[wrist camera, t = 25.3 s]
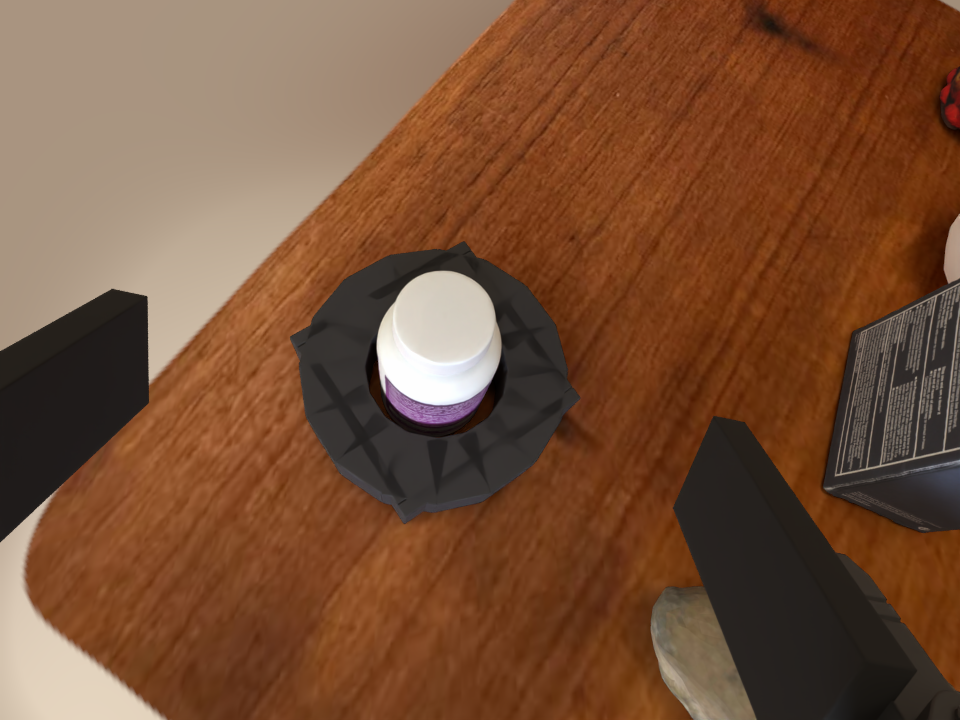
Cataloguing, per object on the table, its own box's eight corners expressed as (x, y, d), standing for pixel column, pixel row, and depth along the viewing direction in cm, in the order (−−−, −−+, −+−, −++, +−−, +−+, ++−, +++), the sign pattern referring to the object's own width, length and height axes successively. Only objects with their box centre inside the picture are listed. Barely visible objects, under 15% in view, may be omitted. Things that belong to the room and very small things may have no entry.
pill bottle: (499, 411, 33) (540, 348, 24) (408, 456, 31) (414, 408, 22) (452, 325, 34) (474, 234, 25) (363, 365, 32) (351, 284, 23)
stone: (589, 715, 28) (659, 765, 21) (649, 535, 31) (729, 522, 24) (928, 881, 28) (1124, 994, 20) (956, 682, 31) (1134, 716, 24)
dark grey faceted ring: (265, 353, 32) (250, 328, 29) (463, 244, 36) (470, 210, 32) (396, 562, 29) (396, 560, 26) (595, 422, 33) (617, 405, 30)
